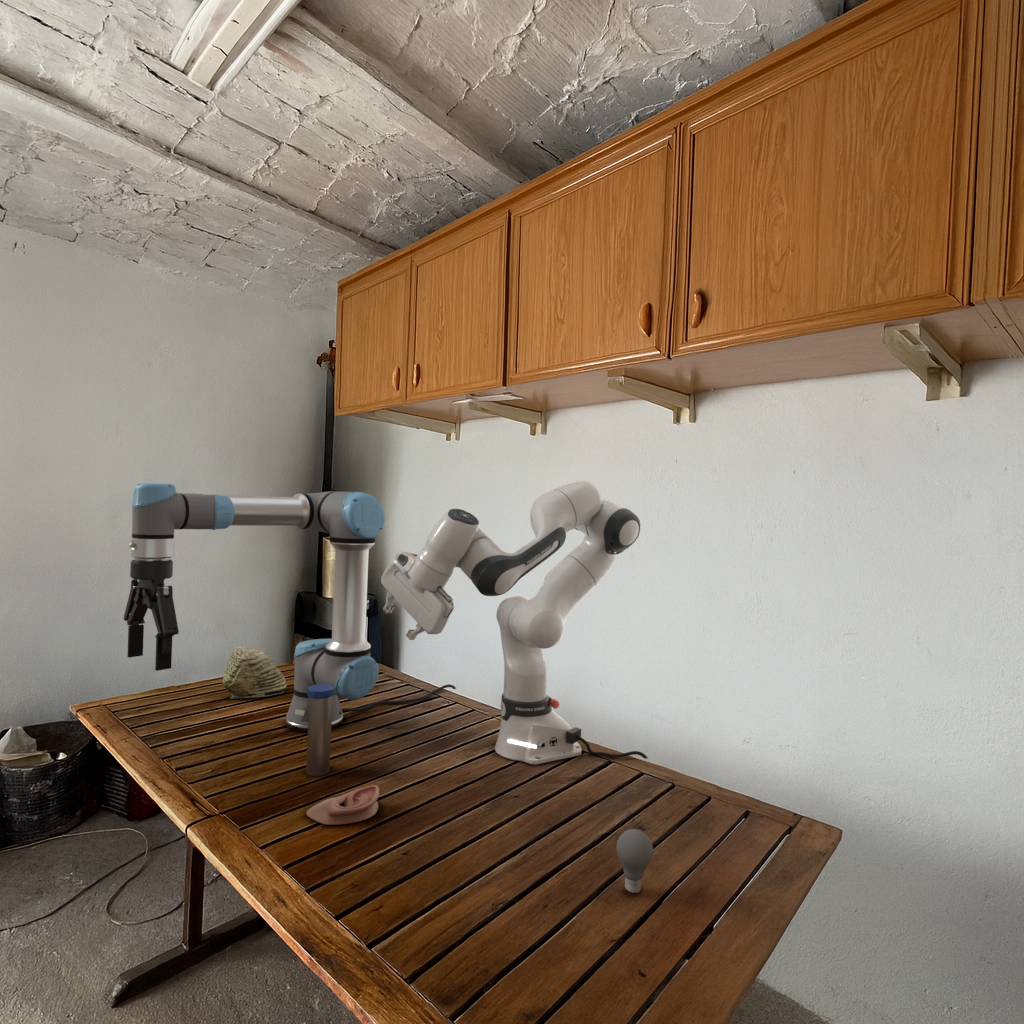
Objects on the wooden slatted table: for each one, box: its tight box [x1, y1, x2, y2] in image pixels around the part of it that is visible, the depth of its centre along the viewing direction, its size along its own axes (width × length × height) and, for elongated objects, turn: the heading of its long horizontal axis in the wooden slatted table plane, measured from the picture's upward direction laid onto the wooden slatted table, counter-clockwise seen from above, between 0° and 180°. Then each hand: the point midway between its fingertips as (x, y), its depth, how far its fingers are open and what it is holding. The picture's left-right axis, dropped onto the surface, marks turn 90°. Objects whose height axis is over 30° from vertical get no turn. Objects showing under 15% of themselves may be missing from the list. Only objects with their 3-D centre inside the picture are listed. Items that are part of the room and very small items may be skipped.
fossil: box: [222, 646, 288, 699], centre depth 198 cm, size 9×18×15 cm, turn 132°
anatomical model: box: [305, 784, 380, 826], centre depth 128 cm, size 13×4×12 cm
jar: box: [305, 696, 332, 777], centre depth 146 cm, size 5×5×19 cm
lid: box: [307, 684, 335, 699], centre depth 146 cm, size 6×6×2 cm
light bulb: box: [615, 828, 654, 894], centre depth 106 cm, size 6×6×10 cm
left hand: (148, 662), depth 129 cm, fingers open, 13 cm apart
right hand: (397, 624), depth 143 cm, fingers open, 8 cm apart
